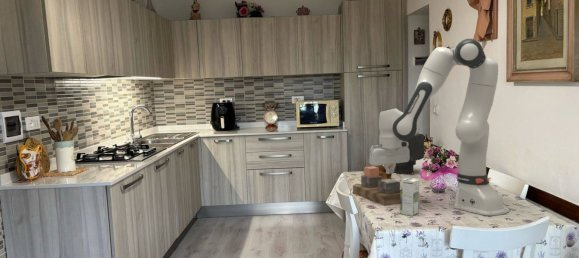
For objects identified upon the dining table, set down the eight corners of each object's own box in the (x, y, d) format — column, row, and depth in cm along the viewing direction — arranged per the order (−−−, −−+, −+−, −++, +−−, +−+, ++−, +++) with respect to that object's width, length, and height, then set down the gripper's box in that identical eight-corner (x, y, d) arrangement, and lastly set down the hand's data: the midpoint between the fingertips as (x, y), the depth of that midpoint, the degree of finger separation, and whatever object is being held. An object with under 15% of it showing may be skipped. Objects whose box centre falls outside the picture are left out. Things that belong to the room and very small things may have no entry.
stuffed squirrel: (365, 181, 244) (365, 158, 243) (387, 179, 249) (387, 156, 248) (375, 185, 235) (375, 160, 234) (397, 182, 240) (397, 158, 239)
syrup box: (405, 210, 186) (406, 177, 184) (419, 213, 182) (419, 178, 181) (399, 214, 181) (400, 179, 180) (413, 216, 178) (413, 181, 176)
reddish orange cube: (378, 177, 214) (378, 167, 213) (370, 178, 212) (370, 168, 211) (372, 176, 218) (372, 166, 218) (364, 177, 216) (364, 167, 216)
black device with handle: (400, 169, 277) (400, 122, 274) (425, 173, 263) (425, 123, 260) (385, 172, 267) (385, 123, 264) (410, 176, 254) (410, 125, 251)
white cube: (396, 191, 201) (396, 180, 201) (387, 192, 199) (387, 181, 199) (390, 189, 206) (390, 178, 205) (381, 190, 204) (381, 179, 203)
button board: (409, 201, 200) (409, 182, 199) (384, 205, 195) (383, 185, 194) (376, 189, 224) (376, 172, 223) (352, 193, 218) (352, 175, 217)
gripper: (373, 146, 193) (374, 177, 195) (411, 142, 201) (412, 172, 203) (366, 145, 199) (366, 175, 200) (402, 141, 207) (403, 170, 208)
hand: (389, 173), depth 201 cm, fingers closed
